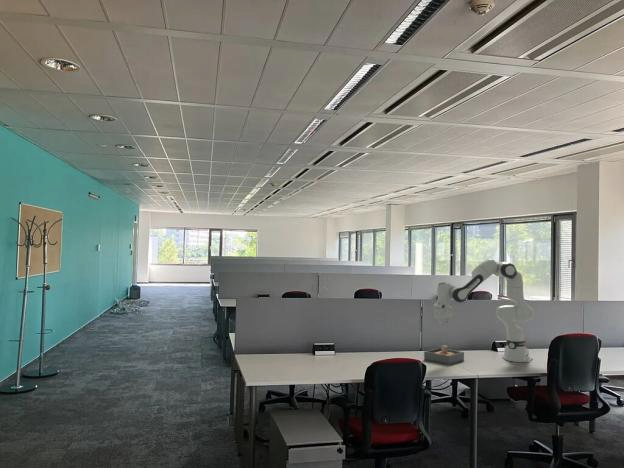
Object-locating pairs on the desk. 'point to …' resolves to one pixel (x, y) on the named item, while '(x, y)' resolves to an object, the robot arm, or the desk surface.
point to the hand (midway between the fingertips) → (443, 324)
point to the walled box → (444, 356)
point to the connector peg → (444, 350)
